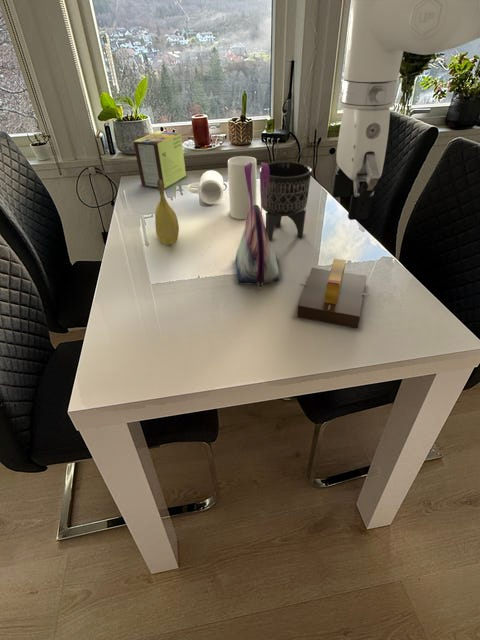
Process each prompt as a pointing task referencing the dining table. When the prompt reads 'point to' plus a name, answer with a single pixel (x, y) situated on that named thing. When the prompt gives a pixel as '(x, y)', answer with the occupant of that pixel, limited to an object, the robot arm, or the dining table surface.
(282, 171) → the planter
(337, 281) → the yellow block
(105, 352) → the dining table surface
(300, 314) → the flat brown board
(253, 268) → the handbag
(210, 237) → the dining table surface
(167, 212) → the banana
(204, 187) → the mug
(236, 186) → the cup
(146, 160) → the protein box
